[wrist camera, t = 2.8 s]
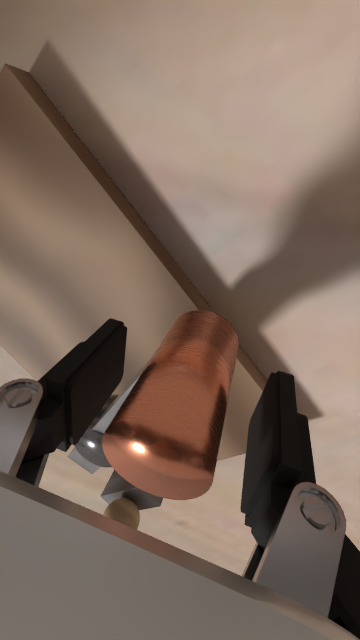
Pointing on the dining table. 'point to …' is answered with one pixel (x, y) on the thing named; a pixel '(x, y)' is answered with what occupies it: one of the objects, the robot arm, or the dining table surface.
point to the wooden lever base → (87, 267)
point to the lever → (169, 412)
